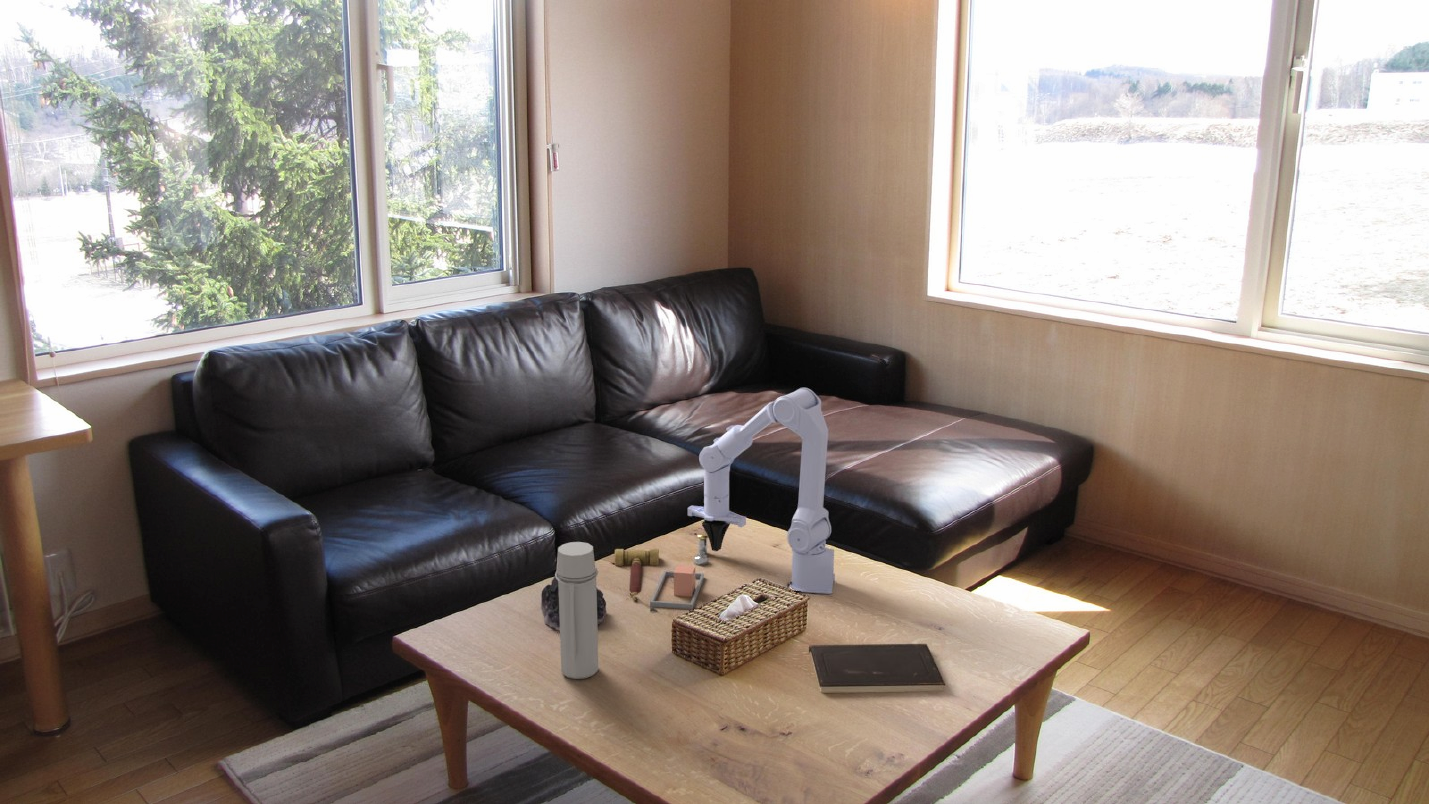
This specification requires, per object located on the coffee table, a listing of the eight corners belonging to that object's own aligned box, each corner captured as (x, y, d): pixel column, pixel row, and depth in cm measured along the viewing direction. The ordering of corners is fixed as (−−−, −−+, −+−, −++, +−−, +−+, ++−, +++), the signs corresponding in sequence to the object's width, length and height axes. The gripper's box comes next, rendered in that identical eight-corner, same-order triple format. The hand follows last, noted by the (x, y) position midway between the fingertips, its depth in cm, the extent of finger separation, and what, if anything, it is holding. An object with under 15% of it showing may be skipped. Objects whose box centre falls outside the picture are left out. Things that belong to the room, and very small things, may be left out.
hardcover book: (944, 694, 205) (945, 683, 205) (819, 696, 205) (819, 685, 204) (925, 652, 221) (925, 642, 220) (808, 654, 220) (809, 643, 219)
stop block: (695, 591, 245) (695, 566, 243) (692, 599, 241) (692, 573, 239) (677, 590, 245) (677, 565, 244) (673, 598, 242) (673, 572, 240)
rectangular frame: (704, 582, 250) (704, 573, 250) (692, 614, 235) (692, 604, 235) (664, 580, 252) (664, 570, 251) (650, 611, 236) (650, 601, 236)
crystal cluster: (608, 635, 228) (611, 588, 226) (541, 634, 225) (543, 587, 224) (603, 611, 241) (606, 566, 239) (539, 610, 238) (541, 565, 237)
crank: (706, 565, 257) (706, 546, 255) (693, 565, 257) (693, 546, 256) (709, 551, 264) (709, 533, 263) (696, 550, 265) (696, 532, 263)
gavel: (658, 589, 240) (611, 590, 240) (658, 608, 242) (611, 608, 241) (658, 545, 260) (615, 545, 260) (658, 562, 261) (615, 563, 261)
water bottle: (564, 661, 216) (560, 539, 209) (604, 663, 215) (601, 541, 208) (552, 685, 207) (547, 559, 200) (594, 687, 206) (590, 561, 199)
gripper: (680, 493, 258) (680, 548, 262) (735, 505, 251) (734, 561, 254) (696, 485, 264) (696, 539, 267) (750, 496, 257) (750, 551, 260)
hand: (716, 549), depth 261 cm, fingers closed
